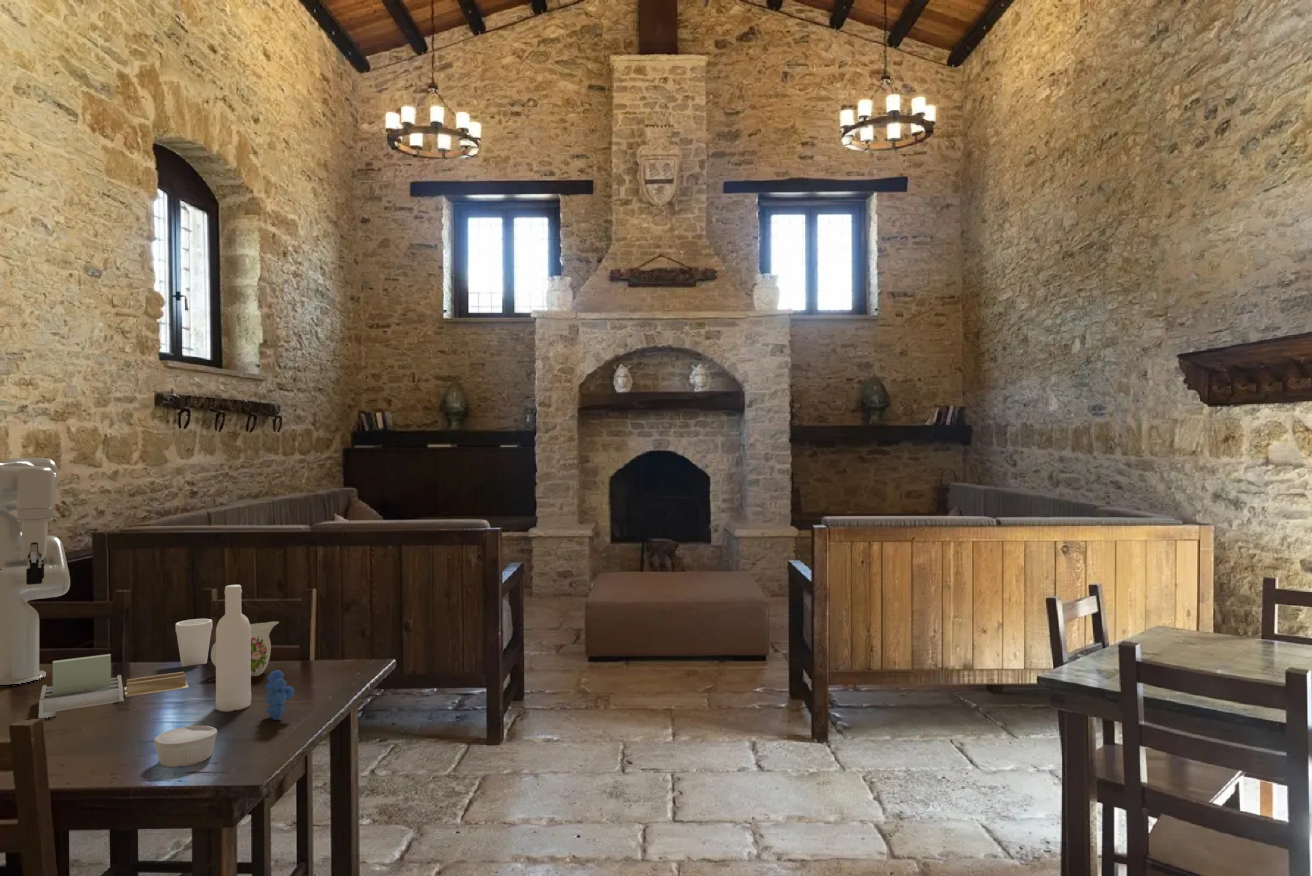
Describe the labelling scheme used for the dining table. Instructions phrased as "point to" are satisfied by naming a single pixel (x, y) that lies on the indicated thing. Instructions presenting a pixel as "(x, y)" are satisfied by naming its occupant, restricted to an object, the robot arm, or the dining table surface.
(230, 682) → the bottle
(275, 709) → the grapes
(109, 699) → the rack
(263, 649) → the pitcher
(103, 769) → the dining table surface
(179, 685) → the stand
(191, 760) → the ramekin
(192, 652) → the foam cup
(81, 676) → the sage green plank
